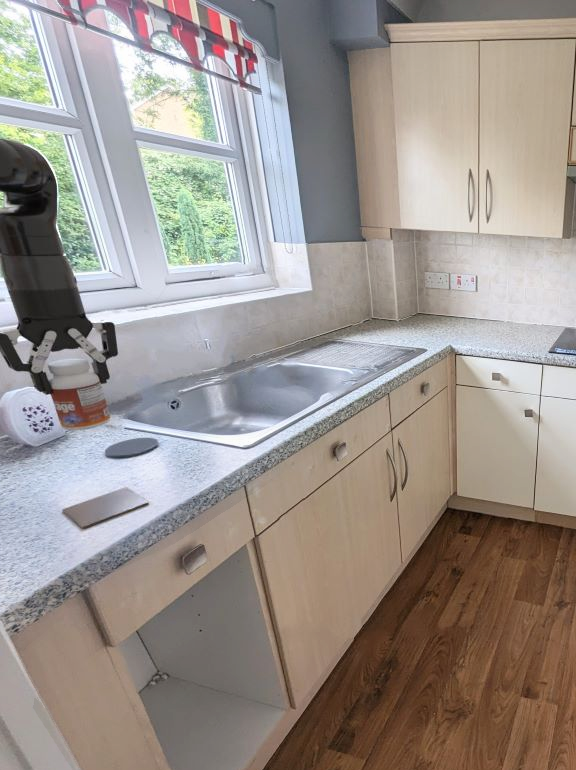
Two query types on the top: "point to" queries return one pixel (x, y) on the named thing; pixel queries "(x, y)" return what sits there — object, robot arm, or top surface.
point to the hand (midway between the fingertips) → (75, 387)
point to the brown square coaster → (104, 507)
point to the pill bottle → (77, 395)
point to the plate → (131, 447)
